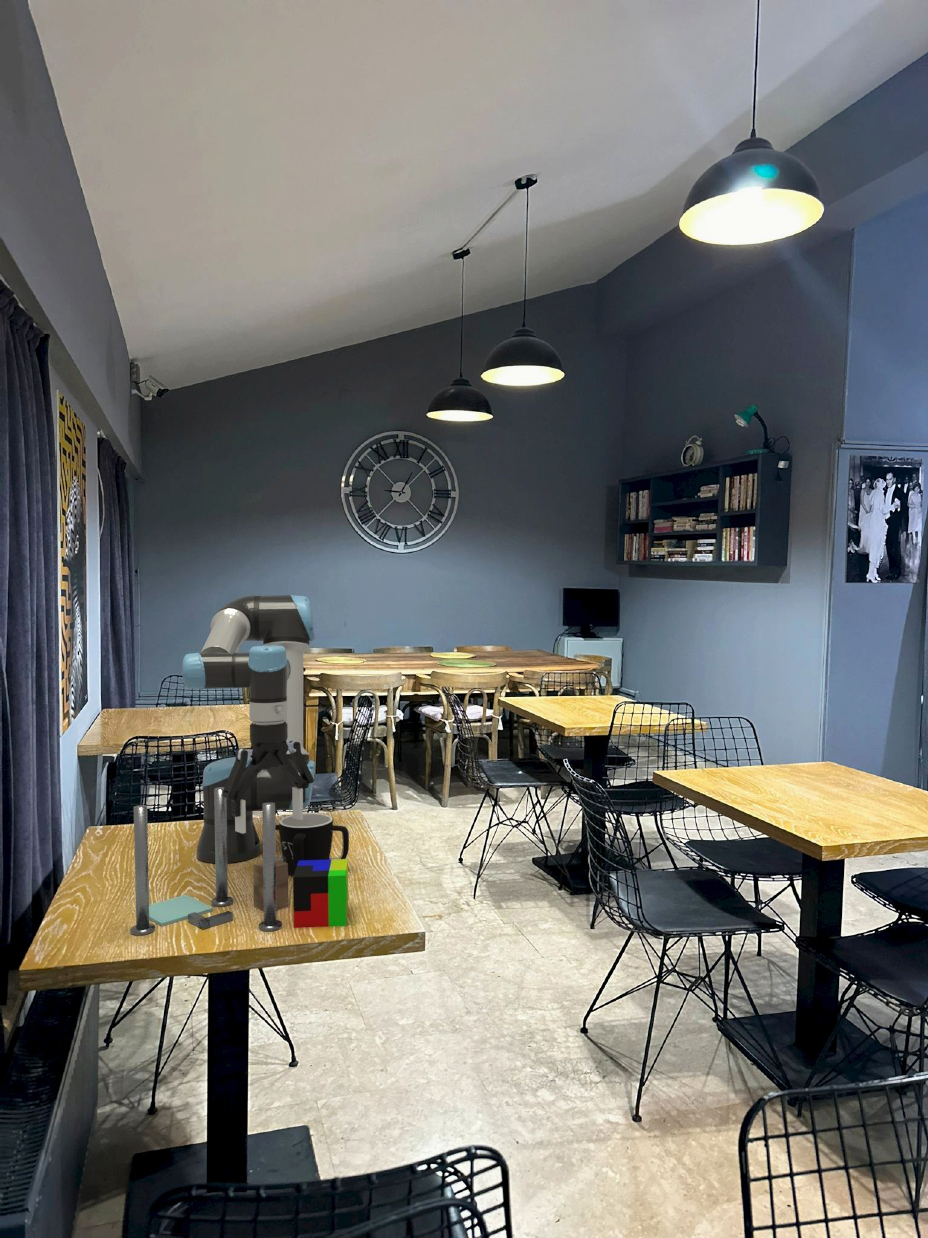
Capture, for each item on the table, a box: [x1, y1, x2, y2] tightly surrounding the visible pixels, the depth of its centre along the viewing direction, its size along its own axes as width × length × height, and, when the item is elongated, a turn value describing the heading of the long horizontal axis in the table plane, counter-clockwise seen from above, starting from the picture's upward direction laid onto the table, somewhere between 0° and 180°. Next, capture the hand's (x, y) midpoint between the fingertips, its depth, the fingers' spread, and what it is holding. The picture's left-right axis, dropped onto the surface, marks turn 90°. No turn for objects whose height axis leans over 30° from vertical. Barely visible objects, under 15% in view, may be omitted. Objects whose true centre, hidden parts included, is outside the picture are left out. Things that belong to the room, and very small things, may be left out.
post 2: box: [210, 787, 234, 908], centre depth 180 cm, size 4×4×24 cm
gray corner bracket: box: [187, 910, 234, 930], centre depth 171 cm, size 6×6×2 cm
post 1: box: [130, 804, 156, 937], centre depth 165 cm, size 4×4×24 cm
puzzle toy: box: [292, 858, 350, 929], centre depth 172 cm, size 10×10×10 cm
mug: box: [275, 812, 350, 876], centre depth 200 cm, size 16×16×12 cm
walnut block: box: [252, 859, 289, 913], centre depth 178 cm, size 5×5×9 cm
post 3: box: [258, 803, 283, 933], centre depth 167 cm, size 4×4×24 cm
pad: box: [149, 894, 214, 927], centre depth 176 cm, size 11×11×1 cm
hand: (269, 825), depth 177 cm, fingers open, 13 cm apart
